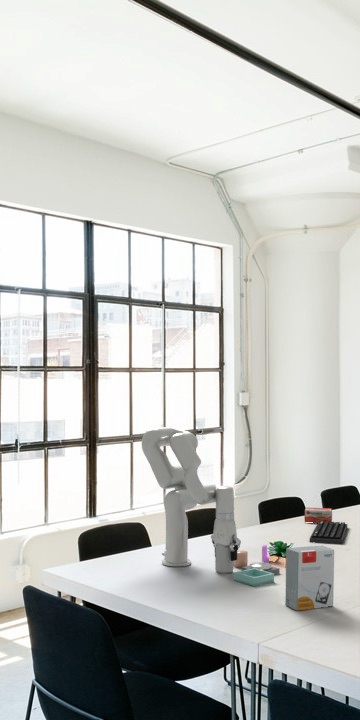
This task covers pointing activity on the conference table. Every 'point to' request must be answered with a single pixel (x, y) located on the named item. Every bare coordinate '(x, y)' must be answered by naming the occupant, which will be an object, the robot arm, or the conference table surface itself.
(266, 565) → the checker pad
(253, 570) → the trough
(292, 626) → the conference table surface
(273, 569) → the base
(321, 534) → the computer keyboard
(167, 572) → the conference table surface
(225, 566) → the can
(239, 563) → the peach rounded knob
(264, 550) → the bracket
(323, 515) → the medicine box
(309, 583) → the hard drive box
